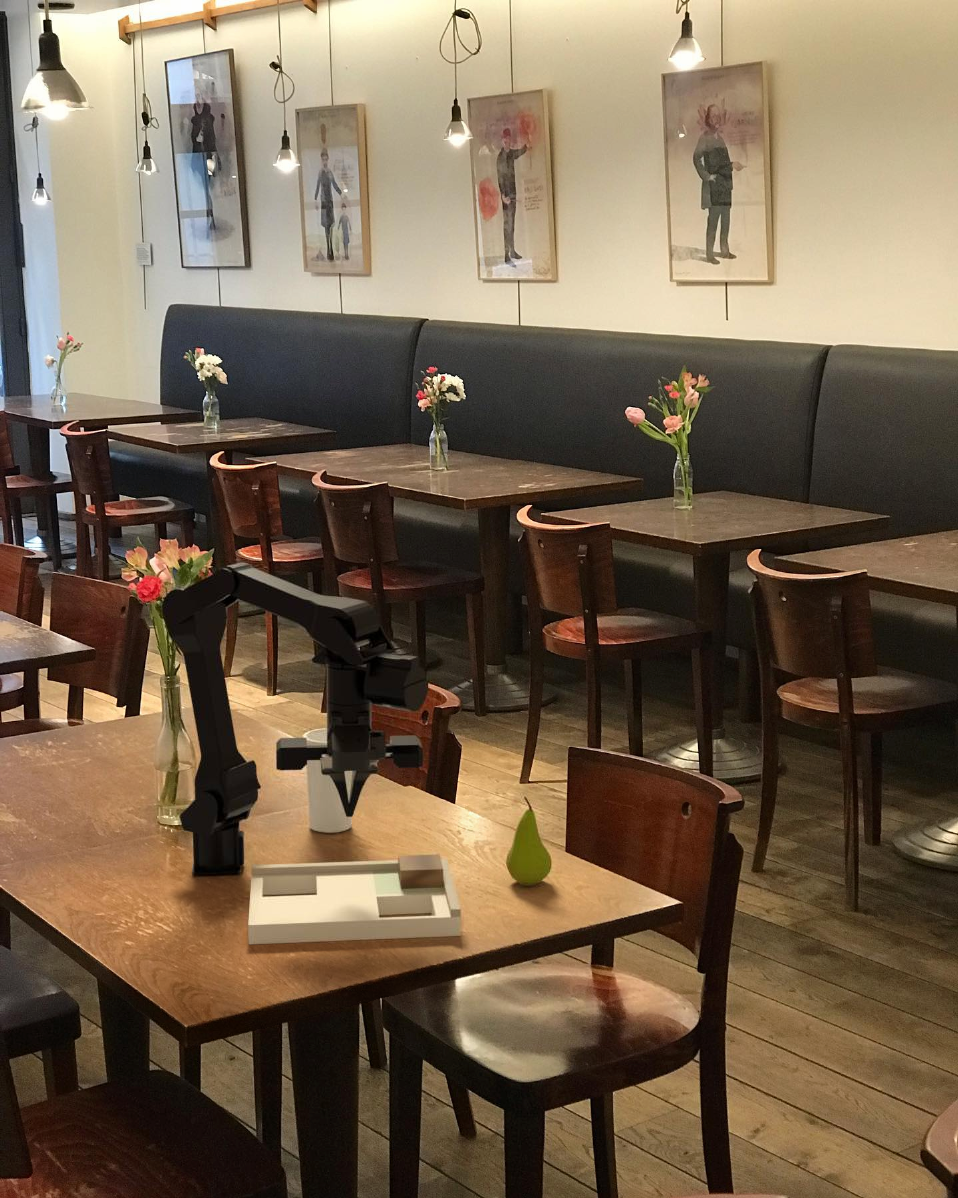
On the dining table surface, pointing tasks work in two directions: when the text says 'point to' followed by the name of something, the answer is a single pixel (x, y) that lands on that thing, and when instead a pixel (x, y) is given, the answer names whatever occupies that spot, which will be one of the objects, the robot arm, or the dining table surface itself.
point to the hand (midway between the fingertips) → (349, 816)
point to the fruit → (528, 852)
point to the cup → (324, 792)
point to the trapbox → (346, 903)
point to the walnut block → (420, 871)
